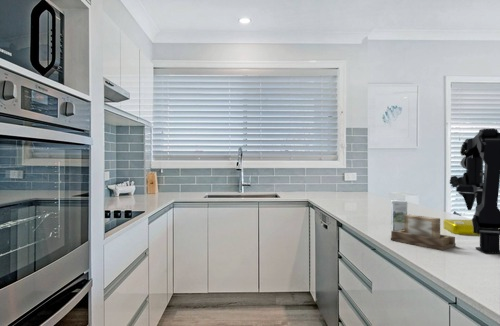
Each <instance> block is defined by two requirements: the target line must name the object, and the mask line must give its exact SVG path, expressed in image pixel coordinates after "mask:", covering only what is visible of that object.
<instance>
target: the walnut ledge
mask: <svg viewBox="0 0 500 326" xmlns="http://www.w3.org/2000/svg"><path fill="white" fill-rule="evenodd" d="M390 232H391V236H390V241H394V242H398V243H404V244H409V245H414V246H418V247H419V246H420V247H424V248H427V249H433V250H439V251H445V250H448V249H452V248H454V247H456V246H457V245H456V236H454V235H453V236H452V235H447V234H446V235H445V234H441V233H440V238H433V237H427V236H421V235H415V234H410V233H405V229H402V230H400V231H390Z"/></svg>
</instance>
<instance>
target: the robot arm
mask: <svg viewBox="0 0 500 326" xmlns="http://www.w3.org/2000/svg"><path fill="white" fill-rule="evenodd" d="M459 153H460V155H461V156H462V159H461V161H460V165H461V167H462V169H465V171H466V172H464V173H463V176H459V177H458V176H456V175H453V176H450V179H449V184H450V185H451V186H452V188H456V189H455V191H456V192H457V193H458V194H459V195H460V196H462V198H463V200H464V203H465V205H466V206H465V207H466V209H467V211H472V209H473V206H474V204H475V202H476V206H475V210H474V211H475V212H474V214H473V216H472V218H471V220H472V223H473V233H477V234H480V235H479V246H478V247H475V250H477V251H479V252H481V253H484V254H500V208H499V207H498V203H499V202H498V200H499V193H500V192H499V191H500V190H499V189H500V132H499V131H498V128H494V127H493V128H481V129H479V130H478V133H476V135H475V136H474V137H472V138H471V137H470V138H466V139H465V140H464V141H463V143H462V144H461V148H460V151H459ZM463 156H464V157H463Z"/></svg>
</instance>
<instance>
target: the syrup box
mask: <svg viewBox="0 0 500 326" xmlns="http://www.w3.org/2000/svg"><path fill="white" fill-rule="evenodd" d="M390 212H391V213H390V214H391V216H390V217H391V219H390V220H391V222H390V225H391V226H390V230H391V231H400V230H402V229H405V215H408V201H407V200H406V199H391V211H390ZM391 231H390V232H391Z"/></svg>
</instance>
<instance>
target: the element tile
mask: <svg viewBox="0 0 500 326" xmlns="http://www.w3.org/2000/svg"><path fill="white" fill-rule="evenodd" d="M443 229H444V230H446V231H448V232H449V233H451V234H452V235H453V234H454V235H465V236H466V235H469V236H471V235H473V236H480V234H477V233H473V223H472V219H448V218H447V219H446V218H445V219H443Z"/></svg>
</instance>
